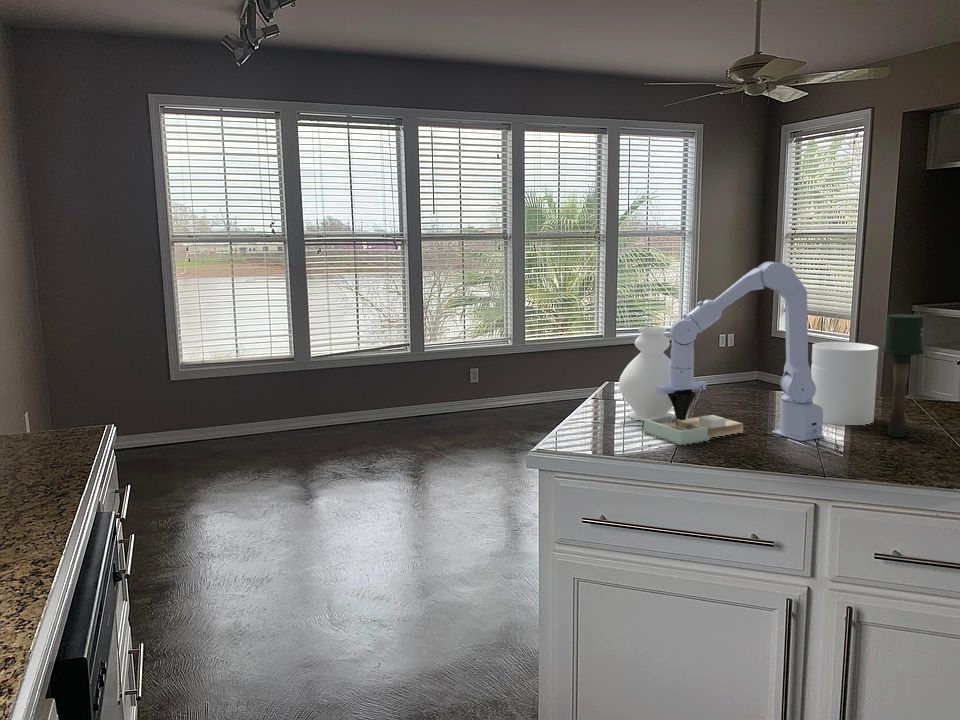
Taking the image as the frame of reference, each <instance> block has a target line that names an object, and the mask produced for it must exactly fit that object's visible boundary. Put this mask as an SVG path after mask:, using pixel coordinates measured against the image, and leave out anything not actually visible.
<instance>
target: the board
mask: <svg viewBox="0 0 960 720" xmlns="http://www.w3.org/2000/svg"><path fill="white" fill-rule="evenodd" d="M702 416H703V415H702ZM702 416H697V417H689V418H686V419H685V420H679V419H676V420H677V421H676V425H677V426H680V427H683V428H686V429H695V428H701V427H706V426H702V425H699V417H702ZM737 433H741V434H743V433H744V423H743V422H739V421H736V420H732V419H729V418H726V425H725V426H723V427H717V428H709V427H708V433H707V435H708V436H710V438H711V439H713V438H712V437H717V438H719V437H718V436H723V437H726V436H725V435H729V436H731V435H730V434H735V435H738V434H737Z"/></svg>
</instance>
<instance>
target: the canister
mask: <svg viewBox="0 0 960 720" xmlns="http://www.w3.org/2000/svg"><path fill="white" fill-rule="evenodd" d="M879 348H880V347H879V346H877V345H873V344H869V343H861V342H847V341H845V342H844V341H827V342H825V341H824V342H816V343H813V344H812V348H811V349H812V350H811V366H810V369H811V374H812V380H813V382H814V383H815V386H816V392H815V395H814V396H813V402H814V404H816V405H819V406H820V407H821V408H822V411H823V424H826V423H827V425H832V424H837V425H836V426H842V425H863V426H866V425H865V424H869V425H871V424H870V423H872V422H873V423H874V421H875V408H876V407H875V406H876V405H875V403H876V392H877V378H878V377H877V376H878V362H879ZM873 423H872V424H873Z"/></svg>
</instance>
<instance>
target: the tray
mask: <svg viewBox="0 0 960 720" xmlns="http://www.w3.org/2000/svg"><path fill="white" fill-rule="evenodd" d="M672 421H673V419H672V416H665V417H658V418H652V419H645V420H644V422H643V433H644V432H645V433H644V434H646V433H648V434H651V435H653V436H652V437H654V436H656V437H655V438H657V437H659V438H658V439H660V438H661V439H660V440H662V439H664V440H663V441H665V440H667V441H666V442H668V441H669V442H668V443H671V442H672V443H671V444H673V443H675V444H674V445H676V444H677V445H676V446H679V445H680V446H679V447H682V446H681V445H683V446H687V444H689V445H694V444H693V443H695V444H700V443H704V442H703V441H706V442H709V441H708V440H711V439H710V436H708V435H707V433H708V427H701V428H695V429H686V428H683V427H680V426H678V429H674V428H671V427H668V426H665V425H662V424H659V423H664V422H668V423H671V424H673V422H672ZM648 434H647V435H648ZM651 435H650V436H651ZM699 442H700V443H699Z"/></svg>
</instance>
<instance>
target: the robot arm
mask: <svg viewBox="0 0 960 720" xmlns="http://www.w3.org/2000/svg"><path fill="white" fill-rule="evenodd" d="M765 288H768V289H771V290H772V291H775V292H776V293H777V294H778V295H779V296H781V297H782V298H783V299H784V314H785V316H784V321H785V323H784V325H785V326H784V327H785V364H784V366H783V375H782V376H781V379H780V382H779V383H780V388H781V390H782V391H783V395H782V396H781V397H780V399H781V402H780V419H779V420H780V421H779V429H776V430H771V433H773V434H775V435H779V436H782V437H786V438H789V439H792V440H796V441H800V442H805V441H806V442H807V441H811V440H816V439H821V438H824V437H825V435H824V434H823V424H824V423H823V411H822V408H821V407H820V406H819V405H816V404H814V402H813V396H814V395H815V392H816V386H815V383H814V382H813V380H812V374H811V366H810V364H809V340H808V335H809V332H808V331H809V330H808V326H809V325H808V290H807V288H806V287H805V285H804V284H803V283H802V281H801V280H800V279H799V277H798V275H796V273H795V270H794V269H793V268H791V267H790V266H788V265H786V264H785V263H782V262H775V261H770V260H769V261H764V262H762V263H761V264H760V265H758V267H754V268H752V269H751V270H750V271H749V272H747V273H746V274H744V275H743V276H741V278H739V279H738V280H737V281H735V282H734V283H733V284H732V285H731V286H729V288H726V290H724V292H722V293H721V294H720V295H718V296H717V297H716V298H715V299H705V300H704V301H702V300H700V301H698V302H697V303H696V305H697V306H696V307H695V308H693V309H692V310H690V311H689V312H687V314H686V313H683V314H682V315H681V317H682V318H681V319H678V320H676V321H674V322H673V323H672V325H671V327H670V330H669V334H670V337H671V338H672V339H671V343H670V346H671V349H670V360H671V369H670V382H669V384H665V385H662V386H657V390H656V394H659V395H664V394H668V396H669V398H670V400H671V402H672V404H673V407H672V408H673V410H674V414H675V415H674V416H675V419H676V420H685V419H687V415H688V412H689V410H690V406H691V404H692V402H693V401H694V399H695V397H696V392H694V391H696V390H707V381H704V380H697V381H695V380H694V376H695V375H694V373H695V349H694V345H695V343H694V341H695V340H696V339H697V336H698V335H697V334H699V333H702V332H704V331H705V330H706V329H708V328H709V327H710V326H712V325H713V324H714V323H716V322H717V321H718V320H720V318H722V312H723V310H724V309H726V308H727V307H729V306H730V305H732V304H733V303H734V302H736V301H737V300H739V299H740V298H742V297H744V295H746V294H748V293H749V292H751V291H758V290H764V289H765Z"/></svg>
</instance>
